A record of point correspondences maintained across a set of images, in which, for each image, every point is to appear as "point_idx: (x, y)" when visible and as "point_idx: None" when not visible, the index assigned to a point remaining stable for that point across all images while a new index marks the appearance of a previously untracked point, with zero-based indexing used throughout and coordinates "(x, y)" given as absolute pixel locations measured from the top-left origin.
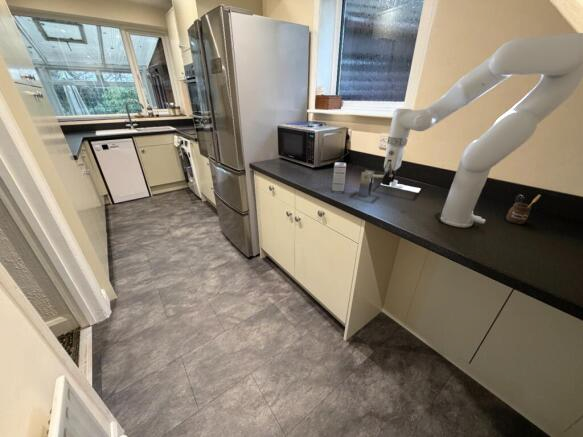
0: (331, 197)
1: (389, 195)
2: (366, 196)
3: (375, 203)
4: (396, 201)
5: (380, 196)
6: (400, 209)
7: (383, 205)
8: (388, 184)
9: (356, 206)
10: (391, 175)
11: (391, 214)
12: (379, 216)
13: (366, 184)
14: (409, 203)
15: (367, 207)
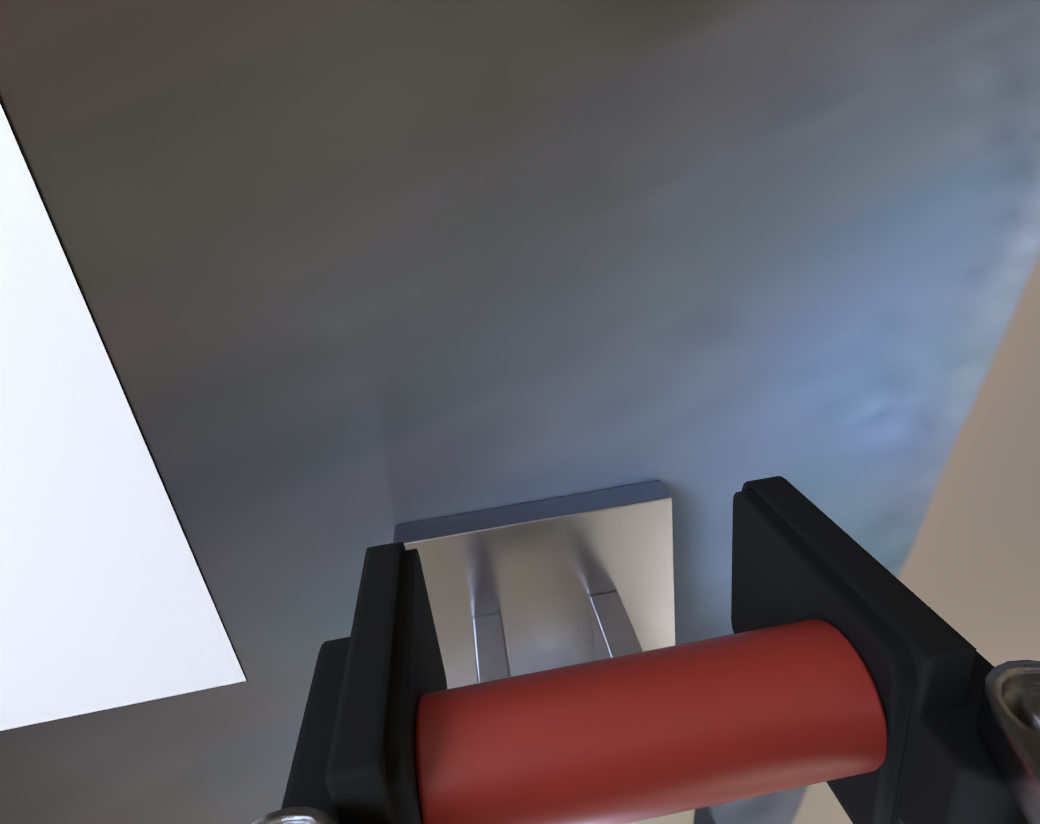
0: (792, 798)
1: (171, 453)
2: (623, 607)
3: (635, 441)
4: (317, 259)
5: (337, 518)
6: (592, 62)
7: (625, 333)
8: (788, 503)
9: (867, 538)
10: (647, 744)
11: (861, 99)
12: (1006, 203)
13: None
14: (198, 33)
15: (822, 444)
